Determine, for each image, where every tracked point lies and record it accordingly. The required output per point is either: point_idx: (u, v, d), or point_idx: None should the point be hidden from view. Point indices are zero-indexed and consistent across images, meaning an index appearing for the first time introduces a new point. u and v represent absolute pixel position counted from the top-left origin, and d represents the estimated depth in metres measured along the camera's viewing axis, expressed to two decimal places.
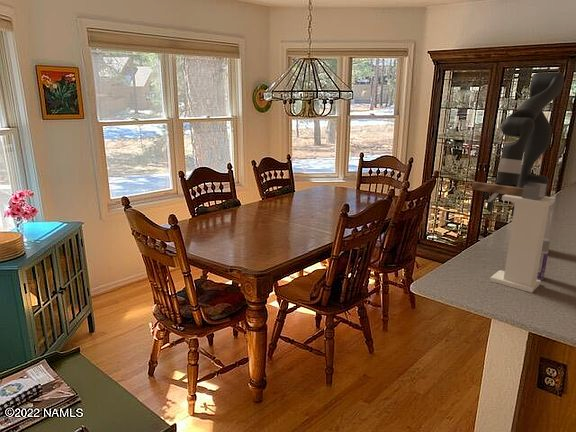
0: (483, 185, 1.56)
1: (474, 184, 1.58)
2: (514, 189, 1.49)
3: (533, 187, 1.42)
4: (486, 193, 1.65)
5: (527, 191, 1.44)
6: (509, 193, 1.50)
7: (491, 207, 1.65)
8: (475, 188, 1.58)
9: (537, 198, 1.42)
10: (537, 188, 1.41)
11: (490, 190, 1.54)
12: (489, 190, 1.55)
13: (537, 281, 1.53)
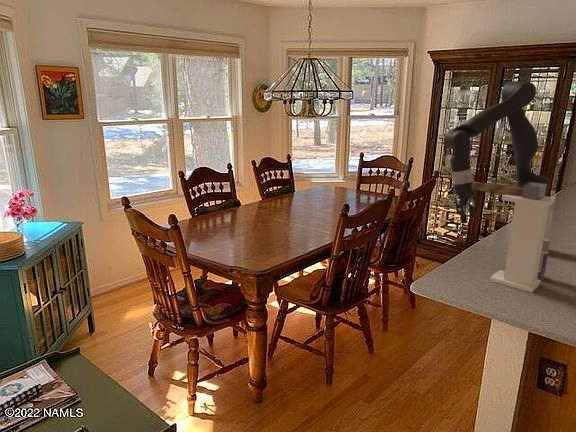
0: (483, 185, 1.56)
1: (474, 184, 1.58)
2: (514, 189, 1.49)
3: (533, 187, 1.42)
4: None
5: (527, 191, 1.44)
6: (509, 193, 1.50)
7: (471, 212, 1.75)
8: (475, 188, 1.58)
9: (537, 198, 1.42)
10: (537, 188, 1.41)
11: (490, 190, 1.54)
12: (489, 190, 1.55)
13: (537, 281, 1.53)
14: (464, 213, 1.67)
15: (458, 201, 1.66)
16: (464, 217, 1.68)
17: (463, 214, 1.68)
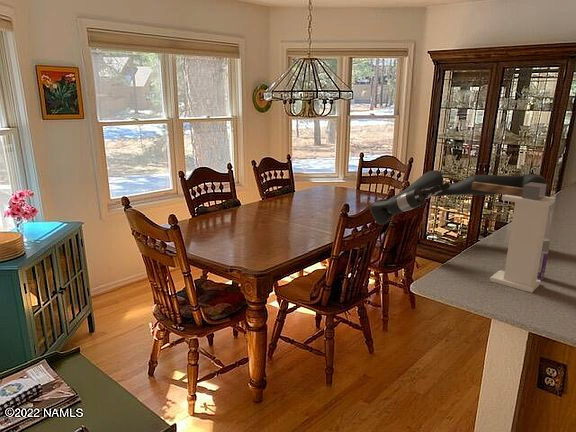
0: (483, 185, 1.56)
1: (474, 184, 1.58)
2: (514, 189, 1.49)
3: (533, 187, 1.42)
4: (437, 192, 1.79)
5: (527, 191, 1.44)
6: (509, 193, 1.50)
7: (444, 186, 1.74)
8: (475, 188, 1.58)
9: (537, 198, 1.42)
10: (537, 188, 1.41)
11: (490, 190, 1.54)
12: (489, 190, 1.55)
13: (537, 281, 1.53)
14: (428, 189, 1.70)
15: (415, 197, 1.72)
16: (432, 188, 1.69)
17: (428, 190, 1.69)
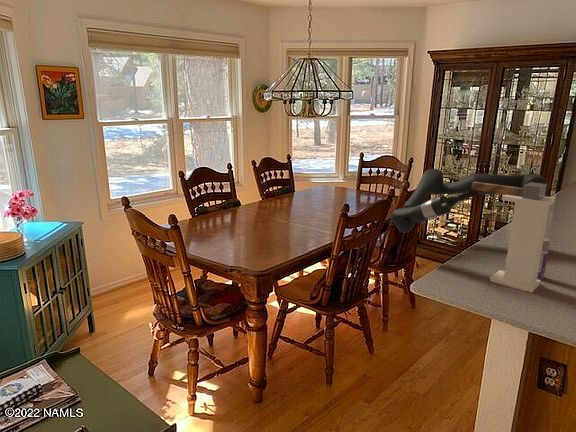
0: (483, 185, 1.56)
1: (474, 184, 1.58)
2: (514, 189, 1.49)
3: (533, 187, 1.42)
4: None
5: (527, 191, 1.44)
6: (509, 193, 1.50)
7: (473, 193, 1.64)
8: (475, 188, 1.58)
9: (537, 198, 1.42)
10: (537, 188, 1.41)
11: (490, 190, 1.54)
12: (489, 190, 1.55)
13: (537, 281, 1.53)
14: (456, 196, 1.60)
15: (442, 204, 1.62)
16: (461, 195, 1.58)
17: (457, 197, 1.59)
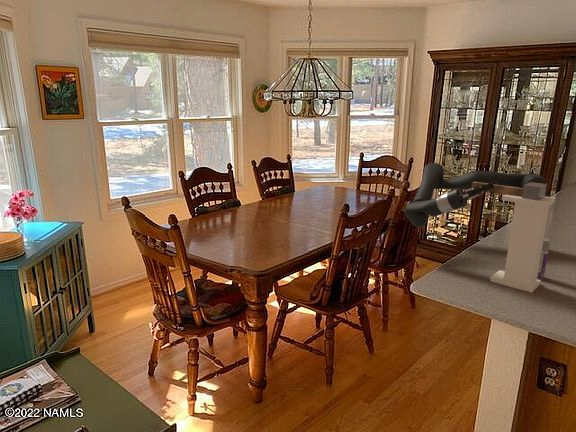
0: (483, 185, 1.56)
1: (474, 184, 1.58)
2: (514, 189, 1.49)
3: (533, 187, 1.42)
4: None
5: (527, 191, 1.44)
6: (509, 193, 1.50)
7: None
8: None
9: (537, 198, 1.42)
10: (537, 188, 1.41)
11: (490, 190, 1.54)
12: (489, 190, 1.55)
13: (537, 281, 1.53)
14: (479, 187, 1.56)
15: (464, 195, 1.56)
16: (484, 186, 1.55)
17: (480, 187, 1.55)
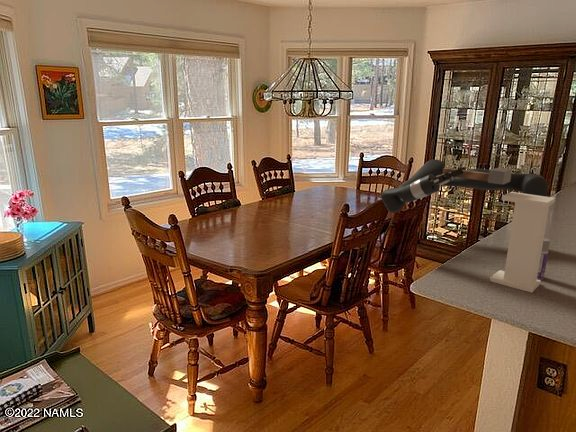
0: (452, 170, 1.63)
1: (445, 170, 1.65)
2: (481, 174, 1.56)
3: (498, 172, 1.49)
4: (454, 178, 1.69)
5: (493, 176, 1.50)
6: (477, 178, 1.57)
7: None
8: None
9: (502, 182, 1.49)
10: (501, 173, 1.48)
11: (459, 175, 1.61)
12: (458, 175, 1.61)
13: (537, 281, 1.53)
14: (449, 172, 1.62)
15: (435, 180, 1.63)
16: (454, 171, 1.61)
17: (450, 173, 1.62)
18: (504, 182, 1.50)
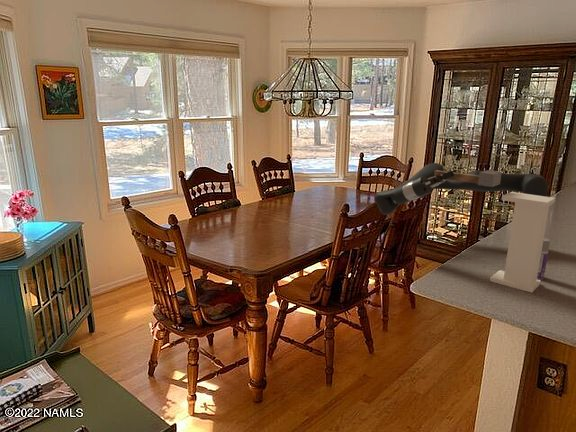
0: (444, 173, 1.65)
1: (436, 172, 1.67)
2: (471, 177, 1.58)
3: (488, 174, 1.51)
4: (445, 180, 1.71)
5: (483, 178, 1.53)
6: (467, 180, 1.59)
7: None
8: None
9: (491, 185, 1.51)
10: (491, 175, 1.51)
11: (450, 178, 1.64)
12: (450, 177, 1.64)
13: (537, 281, 1.53)
14: (440, 175, 1.65)
15: (427, 183, 1.65)
16: (445, 174, 1.64)
17: (441, 175, 1.64)
18: (494, 184, 1.52)
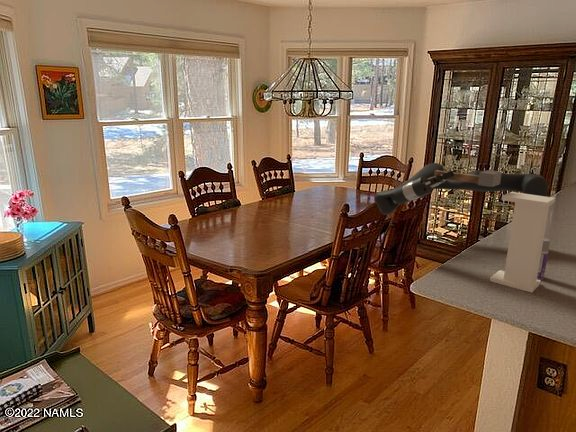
0: (444, 173, 1.65)
1: (436, 172, 1.67)
2: (471, 177, 1.58)
3: (488, 174, 1.51)
4: (445, 180, 1.71)
5: (483, 178, 1.53)
6: (467, 180, 1.59)
7: None
8: None
9: (491, 185, 1.51)
10: (491, 175, 1.51)
11: (450, 178, 1.64)
12: (450, 177, 1.64)
13: (537, 281, 1.53)
14: (440, 175, 1.65)
15: (427, 183, 1.65)
16: (445, 174, 1.64)
17: (441, 175, 1.64)
18: (494, 184, 1.52)
